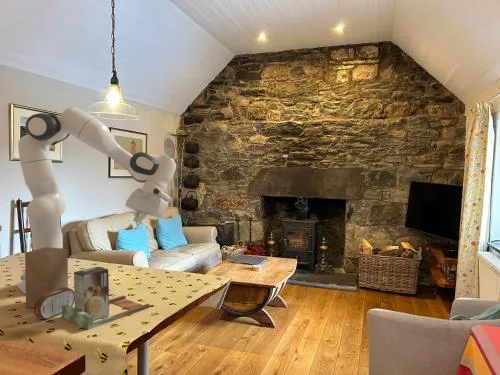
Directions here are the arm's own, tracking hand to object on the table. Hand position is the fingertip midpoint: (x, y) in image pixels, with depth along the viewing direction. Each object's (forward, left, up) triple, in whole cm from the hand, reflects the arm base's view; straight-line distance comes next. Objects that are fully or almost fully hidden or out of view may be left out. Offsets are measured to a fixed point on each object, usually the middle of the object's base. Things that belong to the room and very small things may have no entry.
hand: (136, 222), depth 150 cm
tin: (-4, -31, -29) cm, 42 cm away
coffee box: (+8, -24, -29) cm, 39 cm away
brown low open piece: (+8, -19, -29) cm, 35 cm away
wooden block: (-16, -28, -29) cm, 43 cm away
